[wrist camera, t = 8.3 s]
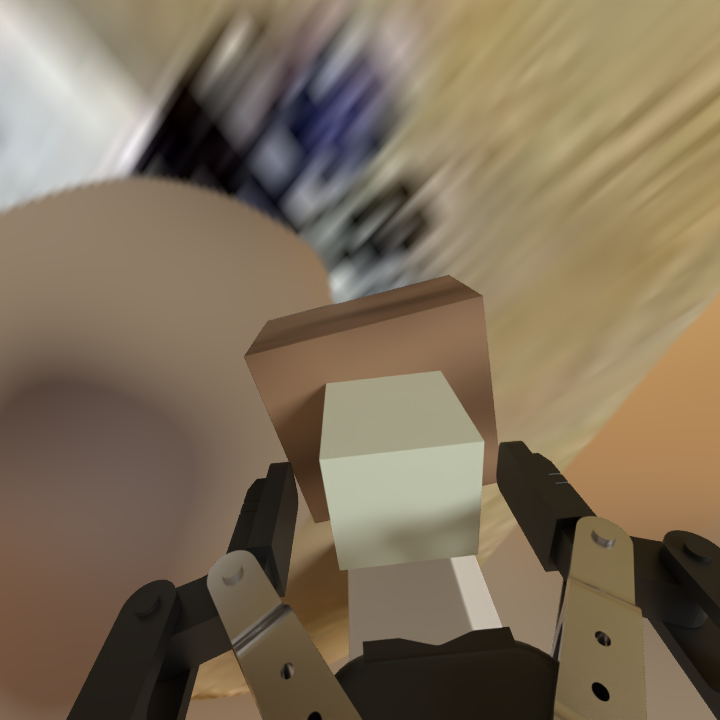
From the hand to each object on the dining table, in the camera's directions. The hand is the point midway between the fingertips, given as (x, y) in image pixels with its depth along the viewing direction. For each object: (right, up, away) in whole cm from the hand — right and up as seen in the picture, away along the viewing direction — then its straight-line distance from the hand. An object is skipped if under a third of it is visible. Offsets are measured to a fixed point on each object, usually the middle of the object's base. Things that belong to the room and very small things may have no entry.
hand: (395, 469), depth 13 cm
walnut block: (0, +3, +7) cm, 8 cm away
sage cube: (0, +1, +3) cm, 3 cm away
